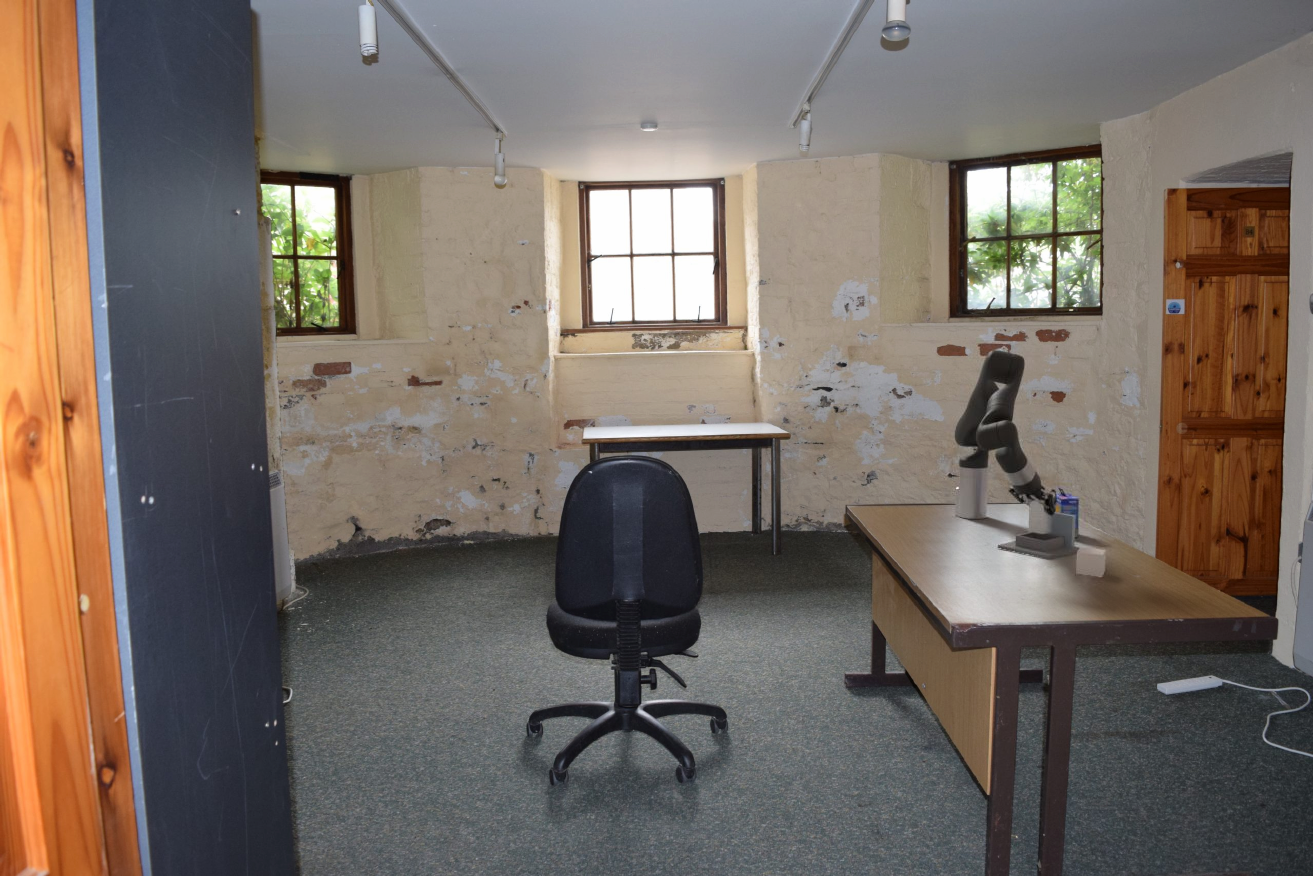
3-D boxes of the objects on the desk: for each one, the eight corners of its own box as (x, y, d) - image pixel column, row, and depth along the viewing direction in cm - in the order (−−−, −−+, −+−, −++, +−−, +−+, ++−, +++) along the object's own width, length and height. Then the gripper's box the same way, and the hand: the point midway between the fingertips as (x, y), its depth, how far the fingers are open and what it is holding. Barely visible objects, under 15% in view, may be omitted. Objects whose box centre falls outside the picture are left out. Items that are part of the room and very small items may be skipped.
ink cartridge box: (1048, 530, 274) (1050, 485, 273) (1066, 530, 274) (1068, 485, 272) (1059, 537, 265) (1061, 490, 263) (1078, 538, 264) (1080, 491, 262)
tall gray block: (1028, 531, 250) (1029, 497, 249) (1037, 529, 252) (1038, 495, 251) (1042, 534, 246) (1043, 499, 245) (1051, 532, 249) (1052, 497, 248)
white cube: (1101, 578, 221) (1102, 554, 220) (1075, 574, 224) (1076, 551, 224) (1104, 572, 226) (1105, 549, 225) (1079, 569, 229) (1080, 546, 229)
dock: (997, 548, 252) (998, 514, 251) (1030, 540, 261) (1031, 508, 260) (1049, 559, 239) (1050, 524, 238) (1081, 551, 248) (1082, 516, 247)
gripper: (1051, 466, 237) (1073, 505, 245) (1004, 461, 249) (1027, 498, 257) (1038, 488, 235) (1062, 526, 243) (992, 481, 246) (1016, 518, 254)
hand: (1044, 511), depth 250 cm, fingers closed on tall gray block, 4 cm apart
